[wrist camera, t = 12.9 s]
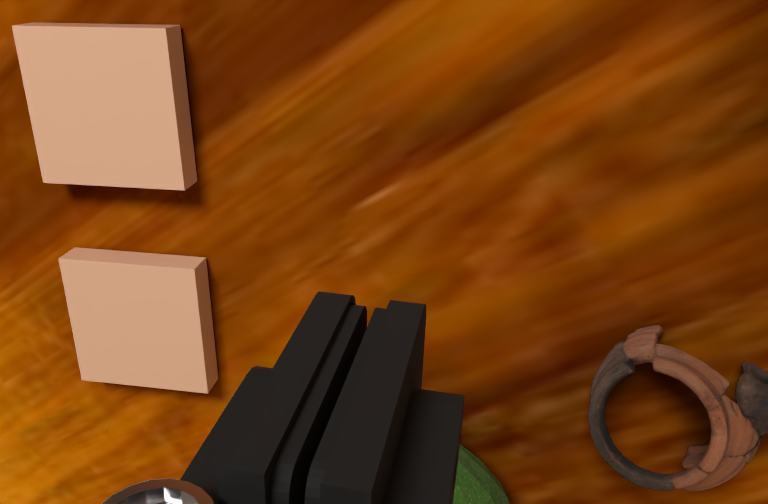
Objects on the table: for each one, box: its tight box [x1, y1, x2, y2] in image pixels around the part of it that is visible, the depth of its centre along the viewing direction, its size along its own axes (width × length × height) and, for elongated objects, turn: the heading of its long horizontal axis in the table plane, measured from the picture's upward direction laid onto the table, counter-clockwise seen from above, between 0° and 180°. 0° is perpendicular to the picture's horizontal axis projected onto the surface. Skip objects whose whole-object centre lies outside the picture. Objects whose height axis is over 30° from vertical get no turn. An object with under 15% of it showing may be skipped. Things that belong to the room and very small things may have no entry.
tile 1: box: [12, 23, 197, 191], centre depth 41 cm, size 9×2×9 cm
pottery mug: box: [588, 325, 768, 492], centre depth 40 cm, size 12×10×8 cm
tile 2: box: [59, 247, 218, 394], centre depth 46 cm, size 9×2×9 cm
